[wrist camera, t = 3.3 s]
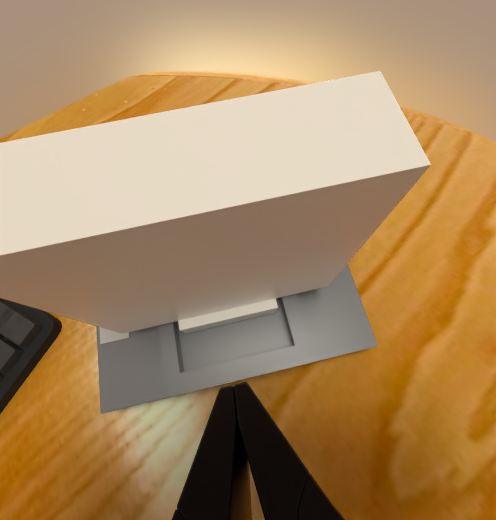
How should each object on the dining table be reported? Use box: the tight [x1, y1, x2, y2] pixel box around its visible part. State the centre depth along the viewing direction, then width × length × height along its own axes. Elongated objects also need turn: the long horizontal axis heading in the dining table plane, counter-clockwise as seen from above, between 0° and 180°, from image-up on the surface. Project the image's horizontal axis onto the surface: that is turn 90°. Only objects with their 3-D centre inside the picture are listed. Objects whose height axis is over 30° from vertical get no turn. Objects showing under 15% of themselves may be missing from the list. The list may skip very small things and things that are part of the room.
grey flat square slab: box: [97, 264, 378, 414], centre depth 19 cm, size 15×15×2 cm
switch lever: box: [0, 71, 431, 334], centre depth 12 cm, size 4×11×11 cm, turn 103°
